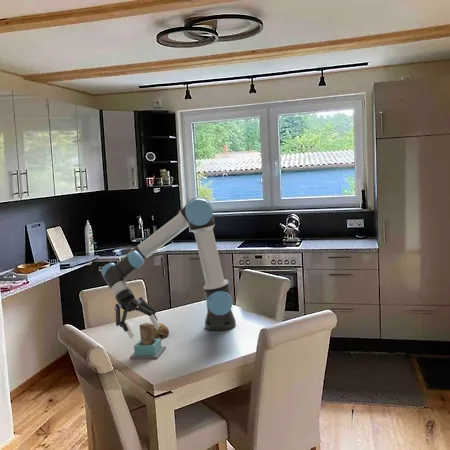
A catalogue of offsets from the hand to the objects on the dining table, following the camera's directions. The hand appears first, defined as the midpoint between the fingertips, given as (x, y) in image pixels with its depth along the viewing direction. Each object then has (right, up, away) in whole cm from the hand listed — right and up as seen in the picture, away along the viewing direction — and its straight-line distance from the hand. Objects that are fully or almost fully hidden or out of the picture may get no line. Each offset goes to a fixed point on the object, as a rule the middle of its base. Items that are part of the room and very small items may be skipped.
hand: (145, 332), depth 223 cm
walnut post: (+1, -9, +1) cm, 9 cm away
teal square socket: (+1, -9, +1) cm, 10 cm away
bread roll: (+2, -7, +25) cm, 26 cm away
